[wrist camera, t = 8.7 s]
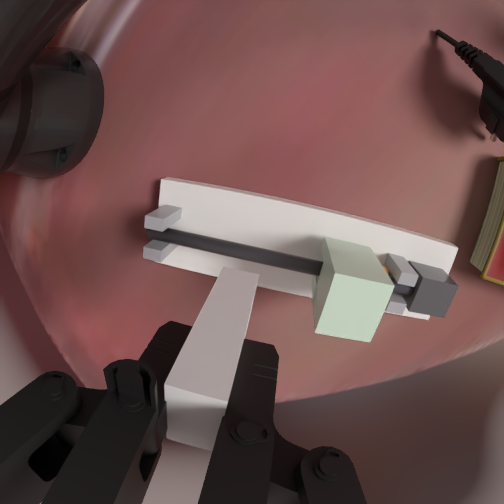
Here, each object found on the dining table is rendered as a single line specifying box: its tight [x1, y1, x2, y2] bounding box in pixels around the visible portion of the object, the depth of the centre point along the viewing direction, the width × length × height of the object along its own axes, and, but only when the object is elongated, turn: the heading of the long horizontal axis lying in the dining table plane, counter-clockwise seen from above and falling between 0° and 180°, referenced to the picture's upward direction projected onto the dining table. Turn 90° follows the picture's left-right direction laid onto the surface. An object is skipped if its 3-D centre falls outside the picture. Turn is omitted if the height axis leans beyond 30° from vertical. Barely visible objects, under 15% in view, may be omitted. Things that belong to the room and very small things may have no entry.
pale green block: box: [311, 237, 395, 342], centre depth 21 cm, size 4×4×7 cm
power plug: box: [436, 29, 504, 142], centre depth 17 cm, size 6×8×12 cm
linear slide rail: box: [143, 177, 458, 320], centre depth 24 cm, size 28×8×6 cm, turn 80°
